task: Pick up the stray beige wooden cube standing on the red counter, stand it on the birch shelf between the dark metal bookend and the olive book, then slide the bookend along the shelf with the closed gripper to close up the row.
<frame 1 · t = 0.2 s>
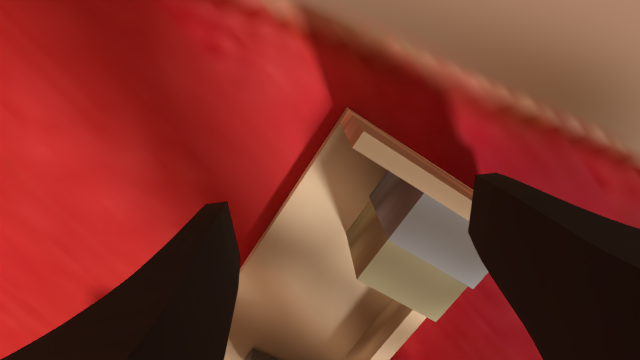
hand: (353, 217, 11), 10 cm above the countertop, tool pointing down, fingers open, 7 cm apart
shelf: (327, 277, 24), on the countertop
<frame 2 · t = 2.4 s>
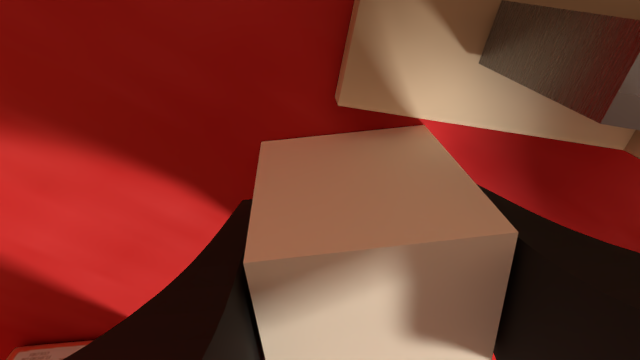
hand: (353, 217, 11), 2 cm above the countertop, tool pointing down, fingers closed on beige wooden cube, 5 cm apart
beige wooden cube: (346, 189, 13), on the countertop, touching gripper
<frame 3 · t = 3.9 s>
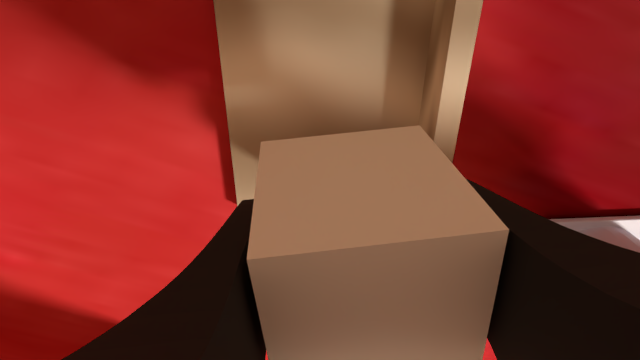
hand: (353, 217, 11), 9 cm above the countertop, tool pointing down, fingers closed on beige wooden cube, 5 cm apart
shelf: (336, 16, 17), on the countertop
beige wooden cube: (343, 188, 13), point 7 cm above the countertop, touching gripper
when the fingers open (4 cm above the countertop, at t = 5.6 s): beige wooden cube stays where it is, resting on shelf.
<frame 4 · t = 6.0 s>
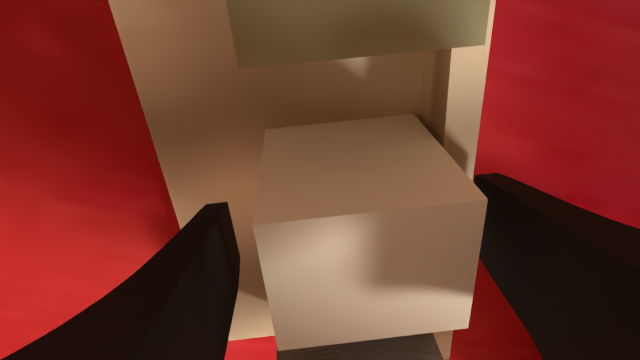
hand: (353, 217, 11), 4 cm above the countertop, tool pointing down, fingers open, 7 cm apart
bookend: (352, 335, 14), point 3 cm above the countertop, slide at 0.0 cm
shelf: (303, 130, 14), on the countertop
beige wooden cube: (342, 173, 14), point 1 cm above the countertop, touching shelf
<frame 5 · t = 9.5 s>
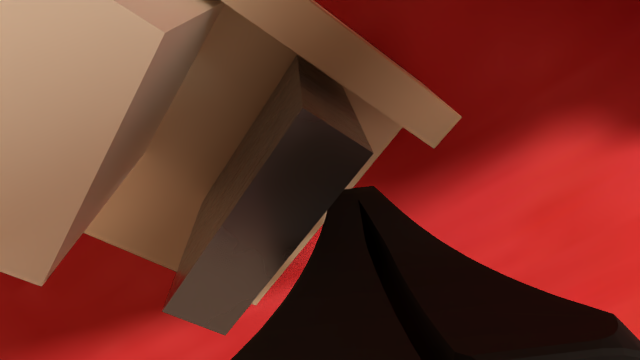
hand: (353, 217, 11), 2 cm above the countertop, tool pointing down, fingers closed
bookend: (263, 184, 9), point 3 cm above the countertop, slide at 0.6 cm, touching gripper
shelf: (49, 42, 11), on the countertop
beige wooden cube: (109, 40, 10), point 1 cm above the countertop, touching shelf
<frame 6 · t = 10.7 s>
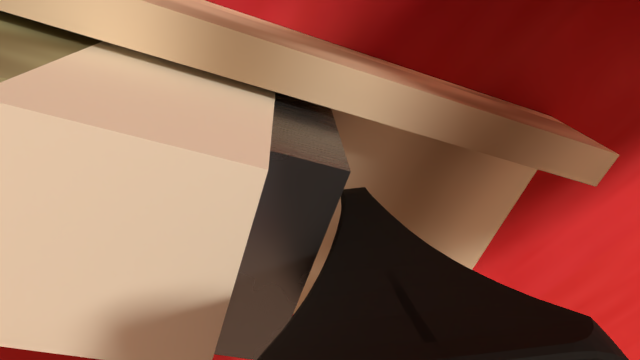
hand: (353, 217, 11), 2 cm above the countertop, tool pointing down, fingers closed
bookend: (274, 214, 10), point 3 cm above the countertop, slide at 5.8 cm, touching beige wooden cube, gripper
shelf: (233, 175, 13), on the countertop
beige wooden cube: (188, 140, 11), point 1 cm above the countertop, touching bookend, shelf
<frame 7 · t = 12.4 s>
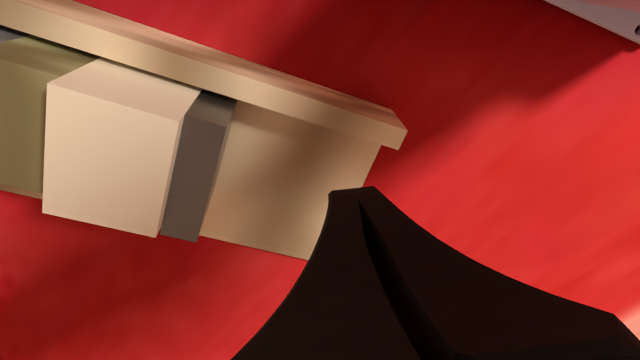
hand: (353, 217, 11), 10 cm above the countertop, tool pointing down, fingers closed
bookend: (201, 159, 17), point 3 cm above the countertop, slide at 5.8 cm, touching beige wooden cube
shelf: (185, 142, 20), on the countertop
beige wooden cube: (154, 116, 18), point 1 cm above the countertop, touching bookend, shelf
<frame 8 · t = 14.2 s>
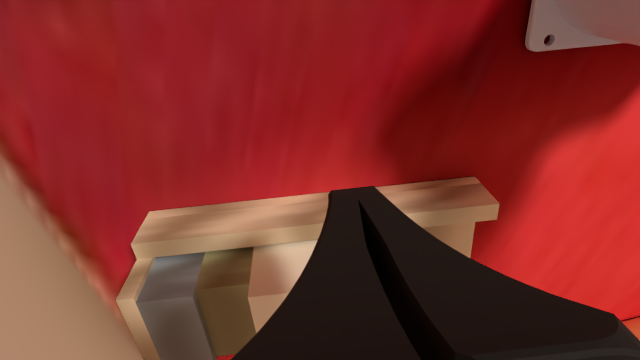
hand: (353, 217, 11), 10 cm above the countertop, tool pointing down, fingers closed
shelf: (320, 260, 25), on the countertop
beige wooden cube: (295, 255, 23), point 1 cm above the countertop, touching bookend, shelf
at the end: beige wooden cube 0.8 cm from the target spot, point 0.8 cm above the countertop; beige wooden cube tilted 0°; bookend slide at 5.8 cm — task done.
